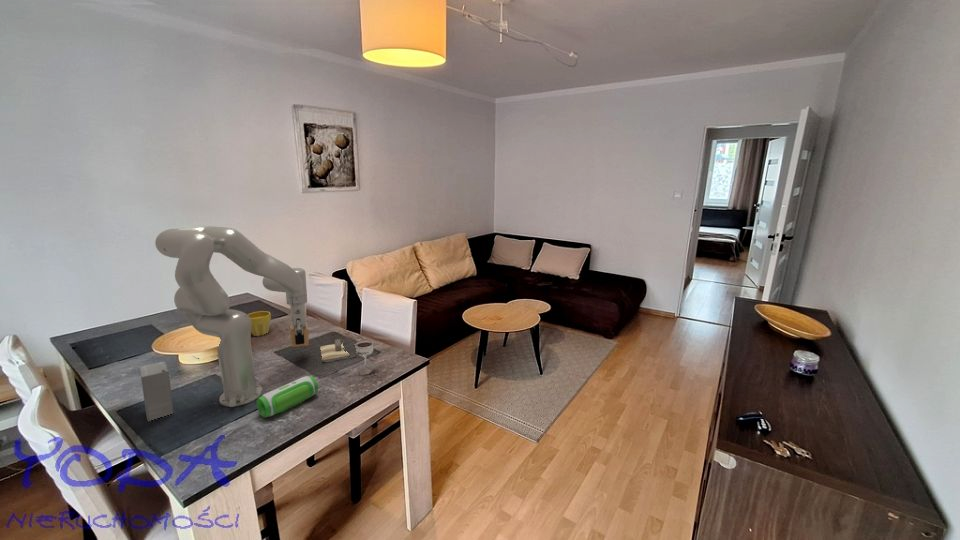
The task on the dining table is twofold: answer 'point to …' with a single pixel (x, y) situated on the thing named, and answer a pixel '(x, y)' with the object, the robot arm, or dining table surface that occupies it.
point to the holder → (333, 351)
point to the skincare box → (156, 390)
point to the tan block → (292, 333)
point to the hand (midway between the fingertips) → (299, 340)
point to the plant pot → (260, 322)
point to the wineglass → (364, 349)
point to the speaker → (286, 396)
